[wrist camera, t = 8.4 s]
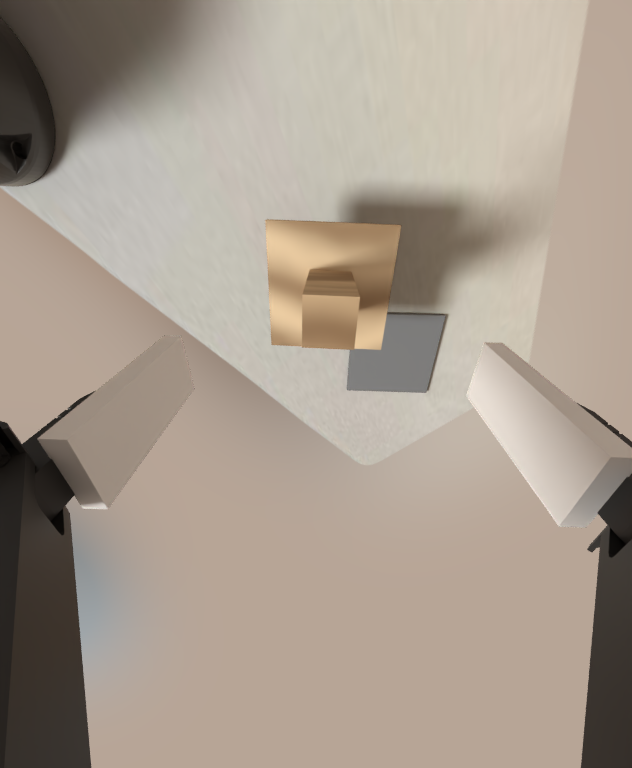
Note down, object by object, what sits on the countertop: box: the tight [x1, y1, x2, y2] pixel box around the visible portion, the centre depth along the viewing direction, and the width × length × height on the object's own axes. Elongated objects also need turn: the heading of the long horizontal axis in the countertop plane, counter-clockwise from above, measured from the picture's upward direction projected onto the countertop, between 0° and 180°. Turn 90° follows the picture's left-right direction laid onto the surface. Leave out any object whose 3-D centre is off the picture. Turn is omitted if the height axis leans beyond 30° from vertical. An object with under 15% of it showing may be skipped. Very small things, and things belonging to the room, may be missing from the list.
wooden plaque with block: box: [265, 219, 401, 350], centre depth 26 cm, size 12×12×10 cm
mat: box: [347, 313, 445, 393], centre depth 42 cm, size 12×12×1 cm
